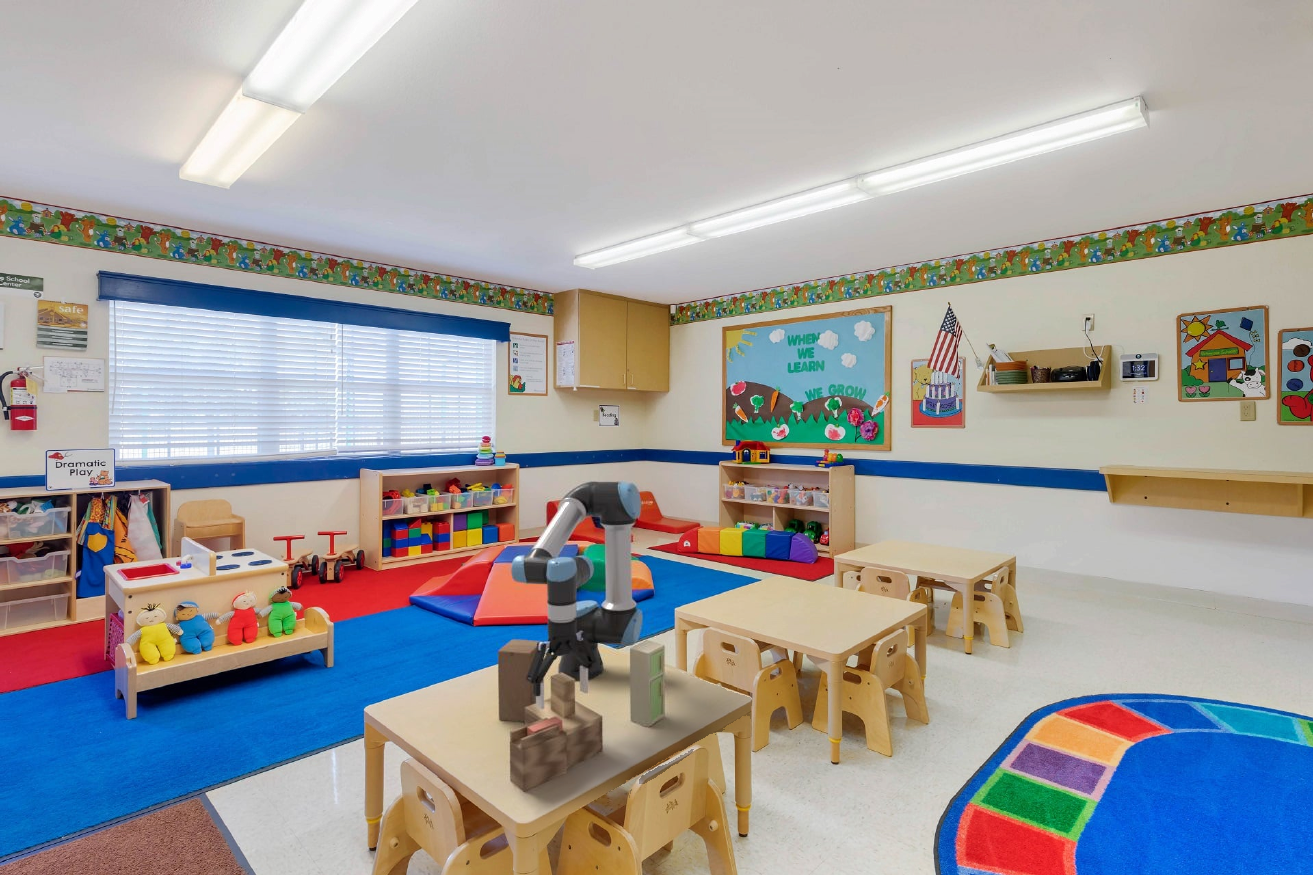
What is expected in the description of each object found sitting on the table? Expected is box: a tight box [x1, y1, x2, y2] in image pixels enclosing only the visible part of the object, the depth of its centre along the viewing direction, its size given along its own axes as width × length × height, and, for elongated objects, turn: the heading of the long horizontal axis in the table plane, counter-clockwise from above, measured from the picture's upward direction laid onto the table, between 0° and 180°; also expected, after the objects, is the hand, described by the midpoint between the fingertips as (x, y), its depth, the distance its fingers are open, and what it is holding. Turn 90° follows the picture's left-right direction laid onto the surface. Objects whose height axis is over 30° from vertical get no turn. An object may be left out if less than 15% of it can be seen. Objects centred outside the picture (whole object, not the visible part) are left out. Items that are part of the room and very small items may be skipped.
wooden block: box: [497, 638, 545, 723], centre depth 183 cm, size 10×10×20 cm
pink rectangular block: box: [527, 716, 562, 736], centre depth 152 cm, size 8×3×2 cm, turn 132°
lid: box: [525, 673, 603, 735], centre depth 164 cm, size 12×18×10 cm, turn 42°
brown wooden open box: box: [509, 712, 604, 792], centre depth 160 cm, size 24×20×12 cm
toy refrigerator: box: [629, 640, 666, 728], centre depth 179 cm, size 8×7×21 cm
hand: (562, 699), depth 164 cm, fingers open, 13 cm apart
